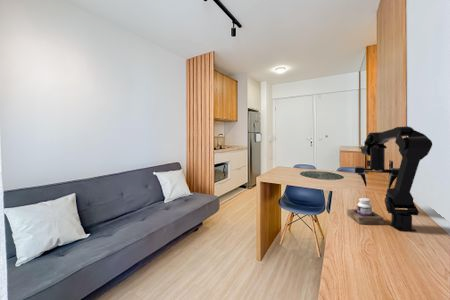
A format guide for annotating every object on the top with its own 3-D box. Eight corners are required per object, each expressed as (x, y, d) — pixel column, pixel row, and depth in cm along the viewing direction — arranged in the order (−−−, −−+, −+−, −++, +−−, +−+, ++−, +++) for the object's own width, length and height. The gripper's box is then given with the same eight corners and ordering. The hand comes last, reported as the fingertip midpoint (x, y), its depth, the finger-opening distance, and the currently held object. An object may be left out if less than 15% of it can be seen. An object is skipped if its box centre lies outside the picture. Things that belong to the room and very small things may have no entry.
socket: (383, 224, 84) (383, 217, 84) (359, 224, 85) (359, 217, 85) (368, 215, 94) (368, 209, 94) (347, 215, 95) (347, 209, 95)
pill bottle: (358, 216, 93) (357, 196, 93) (371, 218, 90) (371, 198, 89) (356, 220, 89) (356, 199, 88) (371, 223, 86) (371, 201, 85)
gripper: (399, 155, 97) (399, 186, 98) (355, 155, 109) (355, 182, 109) (403, 158, 89) (403, 191, 89) (354, 157, 100) (354, 186, 100)
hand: (377, 187), depth 97 cm, fingers open, 9 cm apart
